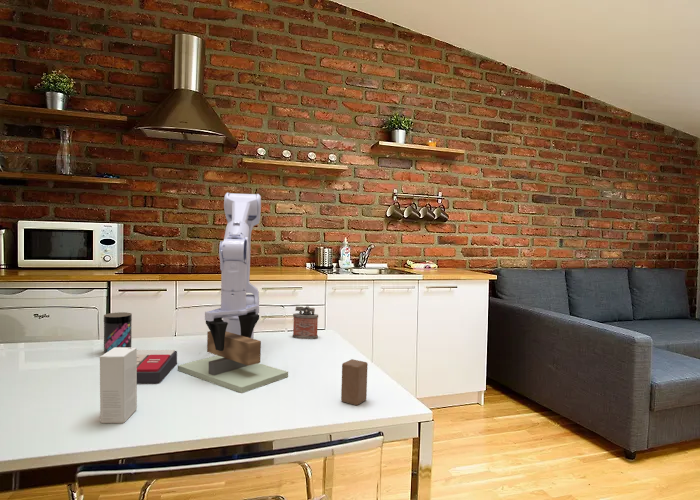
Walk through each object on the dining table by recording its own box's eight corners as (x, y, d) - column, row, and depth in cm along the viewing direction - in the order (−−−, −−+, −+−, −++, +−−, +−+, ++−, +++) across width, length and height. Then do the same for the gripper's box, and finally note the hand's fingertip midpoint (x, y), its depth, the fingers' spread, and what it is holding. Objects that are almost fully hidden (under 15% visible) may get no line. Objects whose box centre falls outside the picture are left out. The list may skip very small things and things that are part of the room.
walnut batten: (207, 351, 112) (207, 331, 112) (219, 349, 115) (219, 329, 115) (248, 365, 102) (248, 343, 102) (260, 362, 105) (260, 340, 104)
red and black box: (106, 369, 99) (131, 347, 114) (106, 388, 99) (131, 364, 114) (159, 369, 100) (177, 347, 115) (159, 388, 101) (177, 364, 116)
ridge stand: (177, 370, 110) (177, 353, 110) (225, 358, 121) (225, 343, 121) (241, 393, 96) (241, 374, 96) (288, 376, 108) (288, 360, 107)
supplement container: (97, 356, 120) (98, 316, 119) (112, 349, 126) (112, 311, 126) (123, 357, 119) (123, 317, 119) (136, 350, 126) (136, 312, 126)
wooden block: (357, 406, 91) (358, 366, 91) (340, 401, 93) (341, 363, 93) (367, 400, 94) (368, 362, 94) (350, 395, 97) (351, 358, 96)
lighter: (318, 337, 147) (319, 306, 147) (316, 339, 144) (317, 308, 143) (293, 335, 148) (294, 305, 147) (291, 338, 145) (292, 306, 144)
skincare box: (113, 410, 86) (113, 346, 85) (137, 409, 86) (137, 347, 86) (98, 423, 80) (98, 356, 79) (124, 423, 80) (124, 356, 80)
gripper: (219, 294, 100) (218, 356, 100) (268, 288, 111) (267, 344, 112) (199, 291, 104) (198, 350, 104) (248, 285, 115) (247, 339, 116)
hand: (232, 346), depth 108 cm, fingers open, 7 cm apart
